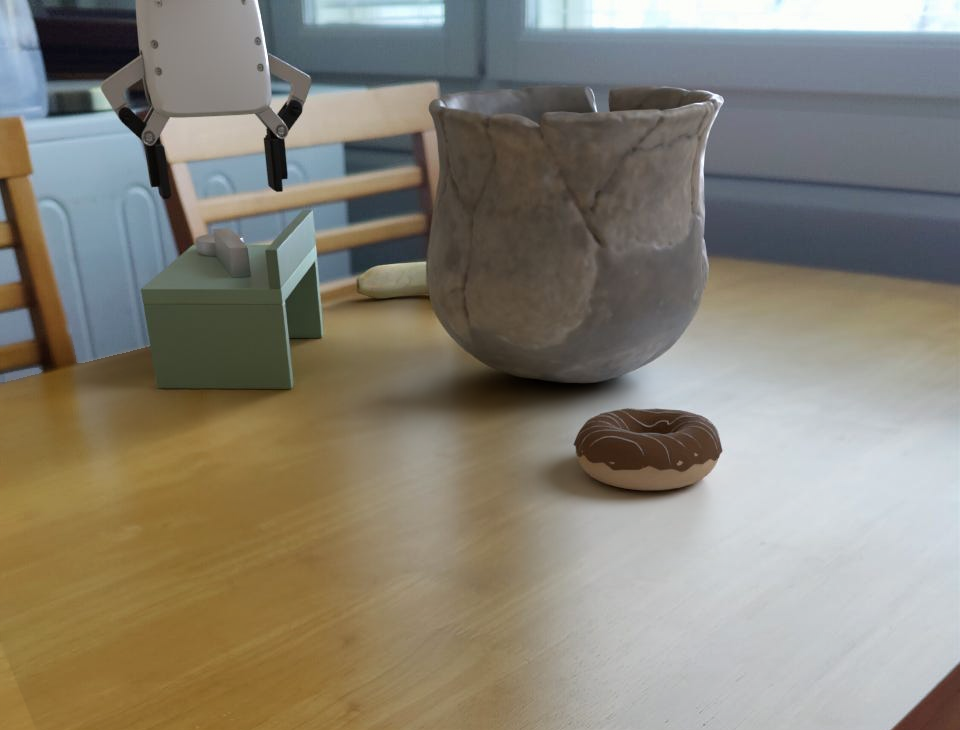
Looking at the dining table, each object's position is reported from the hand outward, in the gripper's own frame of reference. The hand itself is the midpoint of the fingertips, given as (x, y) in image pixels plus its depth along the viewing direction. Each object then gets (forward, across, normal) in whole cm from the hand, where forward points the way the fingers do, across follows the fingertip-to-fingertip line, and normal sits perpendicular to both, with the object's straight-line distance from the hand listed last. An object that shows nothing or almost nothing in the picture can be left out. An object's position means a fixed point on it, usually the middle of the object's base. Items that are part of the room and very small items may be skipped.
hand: (221, 192), depth 105 cm
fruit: (+14, -23, -16) cm, 31 cm away
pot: (+14, -27, +15) cm, 34 cm away
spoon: (+6, 0, -2) cm, 6 cm away
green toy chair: (+14, 0, 0) cm, 14 cm away
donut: (+14, -23, +40) cm, 49 cm away
